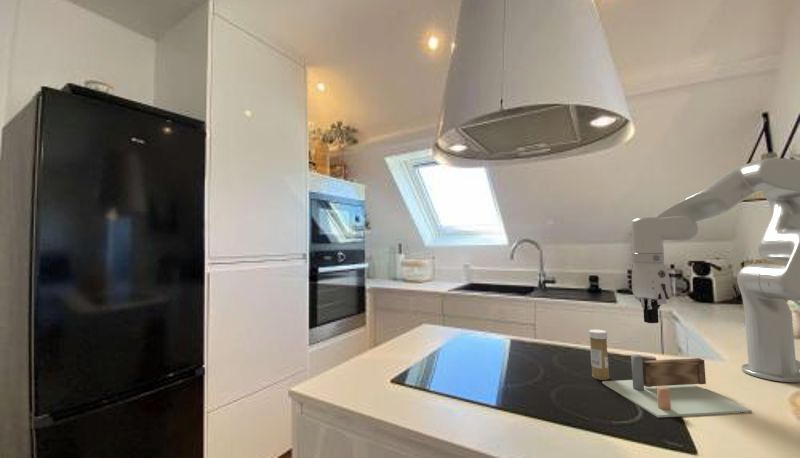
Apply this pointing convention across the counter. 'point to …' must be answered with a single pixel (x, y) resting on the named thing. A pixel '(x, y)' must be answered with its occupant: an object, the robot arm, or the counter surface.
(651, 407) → the gate frame
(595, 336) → the sprinkles bottle
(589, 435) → the counter surface
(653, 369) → the gate
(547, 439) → the counter surface
